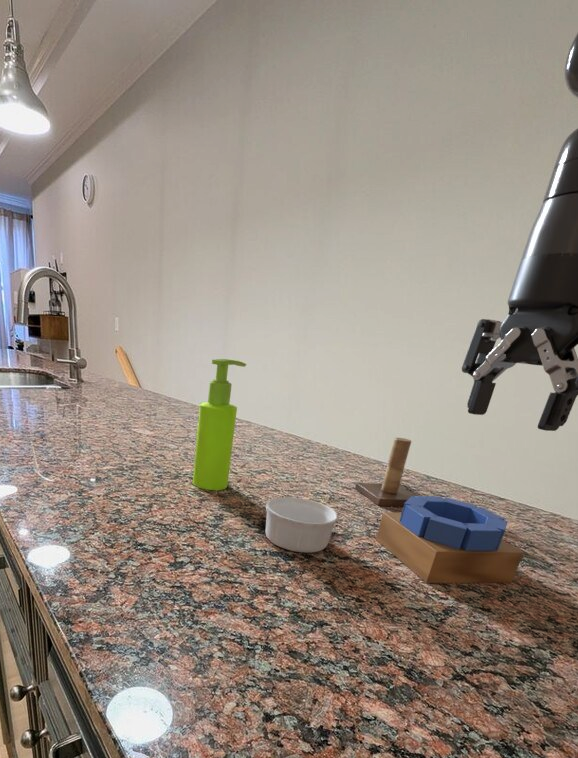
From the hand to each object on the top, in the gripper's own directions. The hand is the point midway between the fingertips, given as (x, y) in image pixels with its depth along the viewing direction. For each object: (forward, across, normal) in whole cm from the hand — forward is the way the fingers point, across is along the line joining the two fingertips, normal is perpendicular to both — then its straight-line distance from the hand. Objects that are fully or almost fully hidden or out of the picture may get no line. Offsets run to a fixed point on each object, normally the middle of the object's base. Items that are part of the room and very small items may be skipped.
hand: (508, 421), depth 50 cm
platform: (+17, 0, +3) cm, 18 cm away
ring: (+13, 0, +3) cm, 14 cm away
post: (+17, +21, -6) cm, 28 cm away
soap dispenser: (+18, +30, +23) cm, 41 cm away
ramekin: (+18, +8, +19) cm, 27 cm away
